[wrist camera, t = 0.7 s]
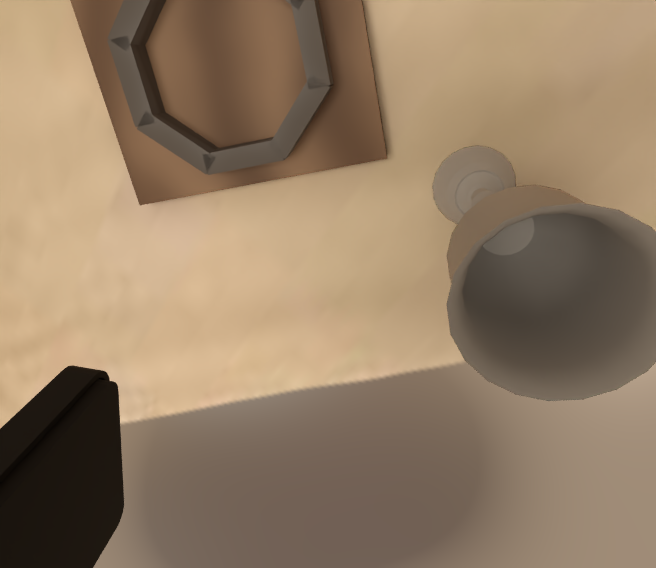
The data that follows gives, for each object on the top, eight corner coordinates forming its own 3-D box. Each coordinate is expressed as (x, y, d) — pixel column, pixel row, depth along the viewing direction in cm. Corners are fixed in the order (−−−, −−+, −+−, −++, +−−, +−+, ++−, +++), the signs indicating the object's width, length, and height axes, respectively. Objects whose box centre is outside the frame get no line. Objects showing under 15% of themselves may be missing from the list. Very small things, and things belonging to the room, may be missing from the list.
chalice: (399, 218, 35) (414, 360, 18) (439, 113, 32) (501, 169, 15) (505, 253, 35) (616, 427, 18) (554, 153, 32) (735, 250, 16)
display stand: (343, -112, 28) (338, -134, 25) (386, 154, 33) (387, 164, 30) (71, -37, 31) (34, -48, 27) (149, 199, 36) (126, 213, 32)
